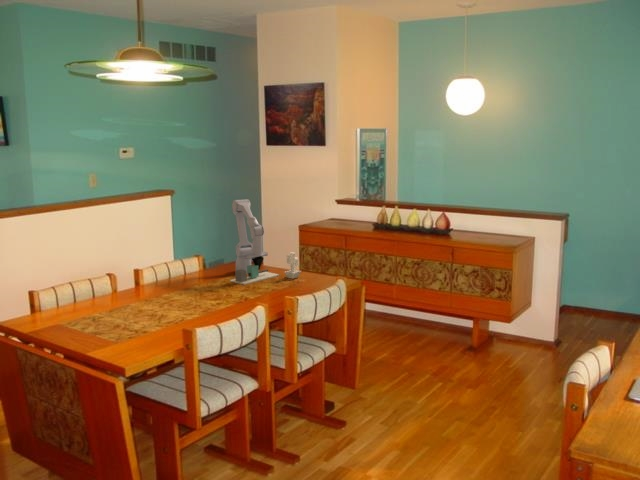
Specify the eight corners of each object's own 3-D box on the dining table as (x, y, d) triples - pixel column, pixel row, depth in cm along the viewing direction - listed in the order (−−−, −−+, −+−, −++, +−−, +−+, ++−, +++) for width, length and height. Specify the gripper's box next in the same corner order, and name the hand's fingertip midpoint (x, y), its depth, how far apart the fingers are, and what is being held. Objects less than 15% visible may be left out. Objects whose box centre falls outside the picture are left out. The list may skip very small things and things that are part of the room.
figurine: (302, 276, 376) (302, 251, 373) (293, 280, 368) (292, 254, 365) (292, 275, 380) (292, 250, 377) (283, 278, 372) (282, 253, 369)
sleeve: (247, 276, 370) (246, 265, 368) (253, 275, 373) (253, 264, 372) (252, 277, 367) (252, 266, 366) (258, 276, 370) (258, 265, 369)
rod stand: (230, 281, 365) (229, 269, 364) (265, 272, 386) (265, 261, 385) (244, 284, 357) (244, 273, 356) (279, 275, 378) (279, 264, 377)
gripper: (252, 249, 362) (253, 272, 364) (271, 245, 373) (271, 268, 375) (244, 247, 366) (245, 270, 369) (262, 244, 377) (263, 266, 380)
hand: (257, 269), depth 372 cm, fingers closed
